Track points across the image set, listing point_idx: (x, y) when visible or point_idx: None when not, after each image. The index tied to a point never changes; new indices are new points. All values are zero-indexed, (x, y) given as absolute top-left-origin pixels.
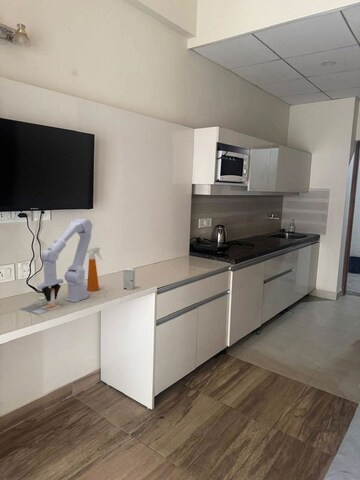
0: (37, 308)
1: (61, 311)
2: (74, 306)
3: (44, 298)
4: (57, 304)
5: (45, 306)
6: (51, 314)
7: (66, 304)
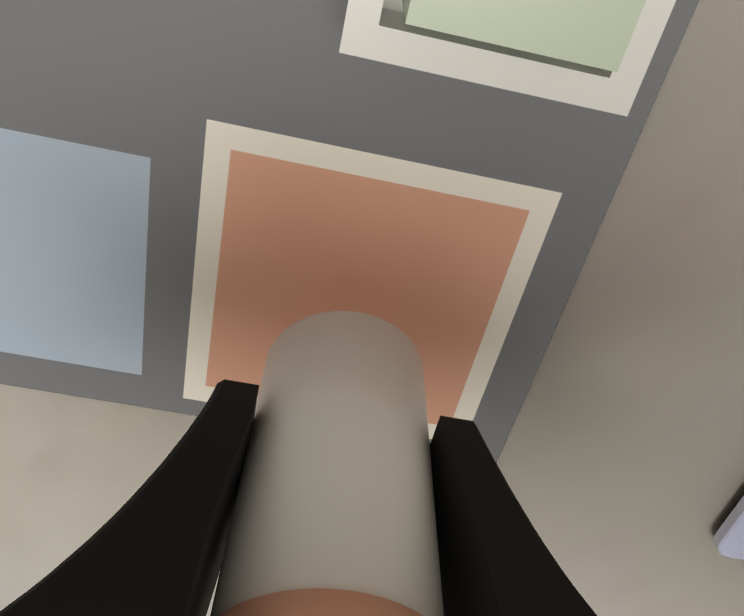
0: (119, 77)
1: None
2: None
3: (543, 53)
4: (537, 333)
5: (328, 173)
6: (31, 515)
7: (578, 466)
